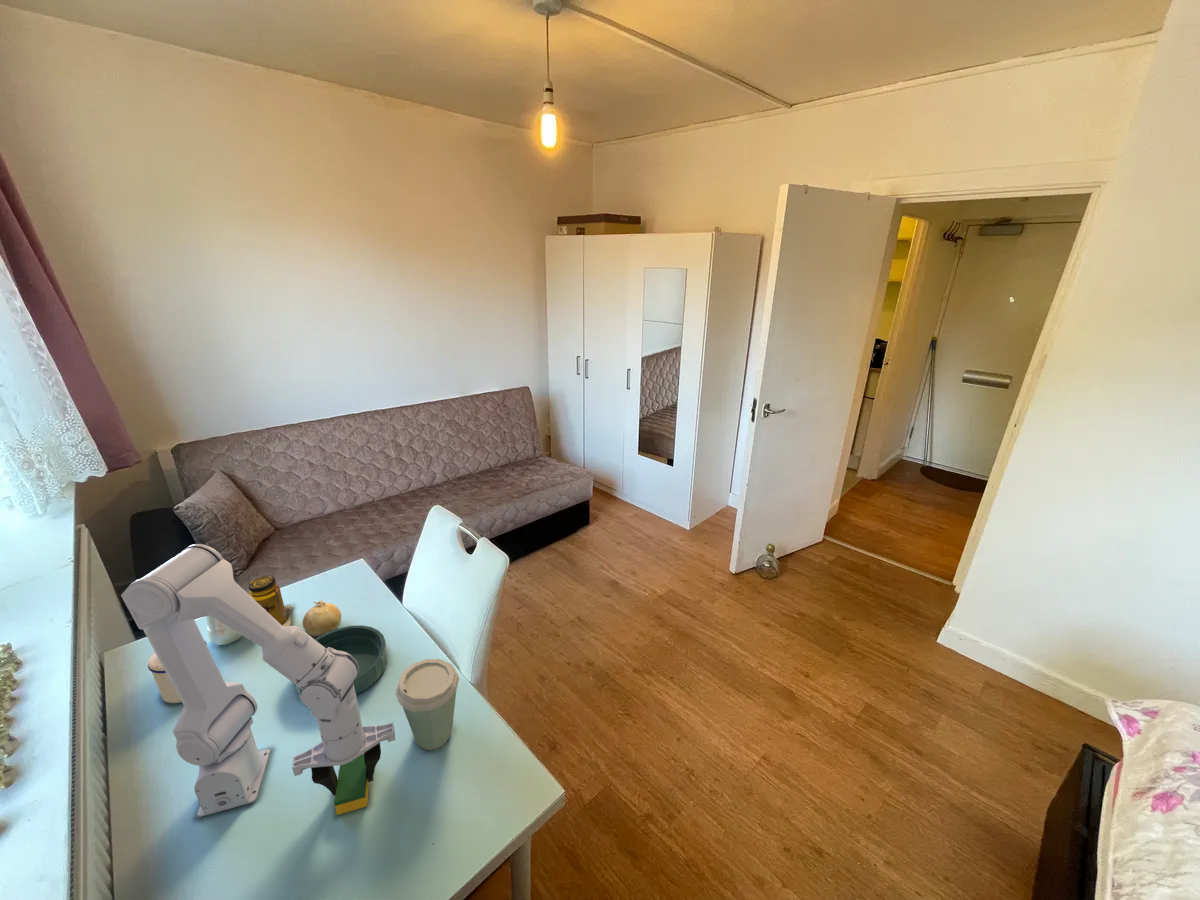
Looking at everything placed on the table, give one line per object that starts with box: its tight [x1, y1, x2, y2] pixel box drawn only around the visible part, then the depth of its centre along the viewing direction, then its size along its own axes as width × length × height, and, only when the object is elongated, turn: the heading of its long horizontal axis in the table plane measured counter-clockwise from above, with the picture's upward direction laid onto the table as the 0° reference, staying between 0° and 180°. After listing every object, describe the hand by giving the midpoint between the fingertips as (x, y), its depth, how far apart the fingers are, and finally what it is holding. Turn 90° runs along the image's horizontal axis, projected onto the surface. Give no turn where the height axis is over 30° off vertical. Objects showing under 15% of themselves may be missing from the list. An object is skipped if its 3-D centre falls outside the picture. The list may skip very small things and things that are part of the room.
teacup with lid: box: [147, 639, 208, 704], centre depth 99 cm, size 12×9×12 cm
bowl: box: [294, 624, 389, 696], centre depth 104 cm, size 18×18×4 cm
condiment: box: [248, 575, 293, 626], centre depth 116 cm, size 7×8×12 cm
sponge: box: [333, 753, 370, 816], centre depth 82 cm, size 8×4×3 cm, turn 19°
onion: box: [302, 600, 342, 638], centre depth 115 cm, size 8×8×7 cm
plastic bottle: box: [205, 616, 243, 646], centre depth 109 cm, size 6×7×20 cm
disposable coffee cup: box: [395, 658, 460, 751], centre depth 89 cm, size 11×11×15 cm
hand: (353, 782), depth 82 cm, fingers closed on sponge, 5 cm apart
